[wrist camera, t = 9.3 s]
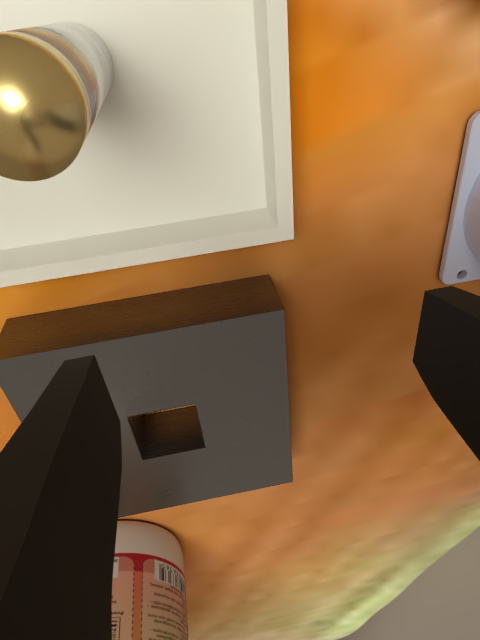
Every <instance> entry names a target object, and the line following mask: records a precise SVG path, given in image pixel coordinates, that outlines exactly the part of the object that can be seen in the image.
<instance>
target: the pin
mask: <svg viewBox="0 0 480 640" xmlns="http://www.w3.org/2000/svg"><path fill="white" fill-rule="evenodd" d="M113 75H114V70H113V62H112V58H111V55H110V53H109V50H108V49H107V47H106V45H105V44H104V42H103V41H102V39H101V38H100V37H99V36H98V35H97V34H96V33H95V32H94V31H92V30H91V29H89V28H88V27H86V26H84V25H82V24H79V23H75V22H68V21H67V22H58V23H52V24H46V25H40V26H34V27H28V28H22V29H16V30H10V31H4V32H0V176H2V177H5V178H8V179H12V180H18V181H40V180H45V179H48V178H51V177H54V176H56V175H58V174H59V173H61V172H63V171H64V170H65V169H67V168H68V167H69V166H70V165H71V164H72V163H73V161H74V160H75V158H76V157H77V155H78V153H79V151H80V149H81V147H82V145H83V143H84V141H85V139H86V137H87V135H88V133H89V131H90V129H91V127H92V125H93V123H94V121H95V119H96V117H97V115H98V112H99V110H100V108H101V106H102V104H103V102H104V100H105V98H106V96H107V94H108V92H109V90H110V88H111V85H112V82H113Z"/></svg>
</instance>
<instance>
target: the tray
mask: <svg viewBox="0 0 480 640" xmlns="http://www.w3.org/2000/svg"><path fill="white" fill-rule="evenodd" d="M67 21H68V22H75V23H79V24H82V25H84V26H86V27H88V28H89V29H91V30H92V31H94V32H95V33H96V34H97V35H98V36H99V37H100V38H101V39H102V41H103V42H104V44H105V45H106V47H107V49H108V50H109V53H110V55H111V58H112V62H113V70H114V75H113V82H112V85H111V88H110V90H109V92H108V94H107V96H106V98H105V100H104V102H103V104H102V106H101V108H100V110H99V112H98V115H97V117H96V119H95V121H94V123H93V125H92V127H91V129H90V131H89V133H88V135H87V137H86V139H85V141H84V143H83V145H82V147H81V149H80V151H79V153H78V155H77V157H76V158H75V160H74V161H73V163H72V164H71V165H70V166H69V167H68V168H67V169H65V170H64V171H63V172H61V173H59V174H58V175H56V176H54V177H51V178H48V179H45V180H40V181H18V180H12V179H8V178H5V177H2V176H0V288H1V287H7V286H13V285H19V284H25V283H31V282H37V281H43V280H49V279H55V278H62V277H68V276H74V275H80V274H86V273H92V272H98V271H104V270H110V269H116V268H122V267H128V266H134V265H140V264H146V263H153V262H159V261H165V260H171V259H177V258H183V257H189V256H195V255H201V254H207V253H213V252H219V251H225V250H231V249H237V248H244V247H250V246H256V245H262V244H268V243H274V242H280V241H286V240H292V239H294V220H293V187H292V154H291V121H290V87H289V54H288V21H287V0H0V32H4V31H10V30H16V29H22V28H28V27H34V26H40V25H46V24H52V23H58V22H67Z"/></svg>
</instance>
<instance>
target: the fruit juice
mask: <svg viewBox="0 0 480 640" xmlns="http://www.w3.org/2000/svg"><path fill="white" fill-rule="evenodd" d="M112 640H188V624H187V607H186V590H185V572H184V560H183V554H182V550H181V547H180V544H179V542H178V540H177V539H176V538H175V536H174V535H173V534H171V533H170V532H169V531H167V530H165V529H164V528H161V527H159V526H157V525H154V524H150V523H146V522H139V521H117V533H116V544H115V555H114V566H113V581H112Z"/></svg>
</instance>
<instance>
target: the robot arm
mask: <svg viewBox="0 0 480 640" xmlns="http://www.w3.org/2000/svg"><path fill="white" fill-rule="evenodd" d="M460 271H462V272H461V273H460V274H459V275H457V274H458V273H459V272H460ZM439 279H440V280H441V281H442V282H443V283H444V284H446V285H451V284H456V283H462V282H467V281H473V280H479V279H480V111H477V112H476V113H474V114H473V115H472V116H471V118H470V119H469V121H468V124H467V129H466V134H465V139H464V145H463V150H462V155H461V161H460V166H459V171H458V176H457V182H456V187H455V192H454V198H453V203H452V208H451V213H450V219H449V224H448V229H447V235H446V240H445V245H444V250H443V256H442V261H441V266H440V272H439ZM413 363H414V365H415V367H416V368H417V370H418V372H419V374H420V376H421V378H422V380H423V382H424V383H425V385H426V387H427V389H428V390H429V392H430V394H431V396H432V397H433V399H434V400H435V402H436V403H437V405H438V406H439V407H440V409H441V410H442V411H443V413H444V414H445V415H446V417H447V418H448V420H449V421H450V422H451V424H452V425H453V426H454V428H455V429H456V430H457V432H458V433H459V434H460V436H461V437H462V438H463V440H464V441H465V442H466V444H467V445H468V446H469V448H470V449H471V450H472V452H473V453H474V454H475V455H476V457H477V458H478V459H479V461H480V297H479V296H477V295H474V294H472V293H469V292H467V291H464V290H461V289H458V288H455V287H452V286H449V287H443V288H438V289H433V290H428V291H425V294H424V299H423V305H422V311H421V317H420V322H419V328H418V334H417V339H416V345H415V351H414V357H413ZM121 474H122V445H121V424H120V420H119V417H118V414H117V412H116V409H115V407H114V404H113V401H112V399H111V396H110V394H109V391H108V388H107V386H106V383H105V381H104V378H103V375H102V373H101V370H100V368H99V365H98V362H97V360H96V357H95V355H90V356H85V357H80V358H75V359H70V360H65V361H64V362H63V363H62V365H61V366H60V368H59V369H58V370H57V372H56V373H55V375H54V376H53V378H52V379H51V381H50V382H49V384H48V385H47V387H46V388H45V390H44V391H43V393H42V394H41V396H40V397H39V399H38V400H37V401H36V403H35V404H34V406H33V407H32V409H31V410H30V412H29V413H28V415H27V416H26V418H25V419H24V420H23V422H22V423H21V425H20V426H19V427H18V429H17V430H16V432H15V433H14V434H13V436H12V437H11V439H10V440H9V442H8V443H7V444H6V446H5V447H4V448H3V450H2V451H1V453H0V640H112V581H113V566H114V555H115V544H116V533H117V521H118V510H119V499H120V487H121Z"/></svg>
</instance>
